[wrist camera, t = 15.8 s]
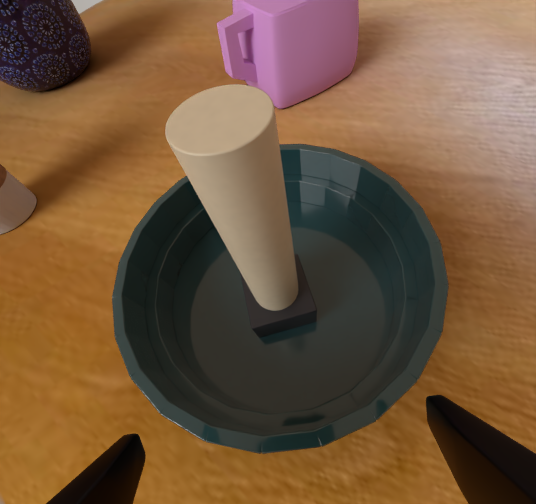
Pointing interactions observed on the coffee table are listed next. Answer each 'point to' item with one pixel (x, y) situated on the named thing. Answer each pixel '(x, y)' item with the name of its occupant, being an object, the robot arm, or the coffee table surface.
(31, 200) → the coffee cup
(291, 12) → the teapot
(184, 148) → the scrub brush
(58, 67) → the planter
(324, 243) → the basin
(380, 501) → the coffee table surface
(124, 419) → the coffee table surface
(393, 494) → the coffee table surface
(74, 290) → the coffee table surface
